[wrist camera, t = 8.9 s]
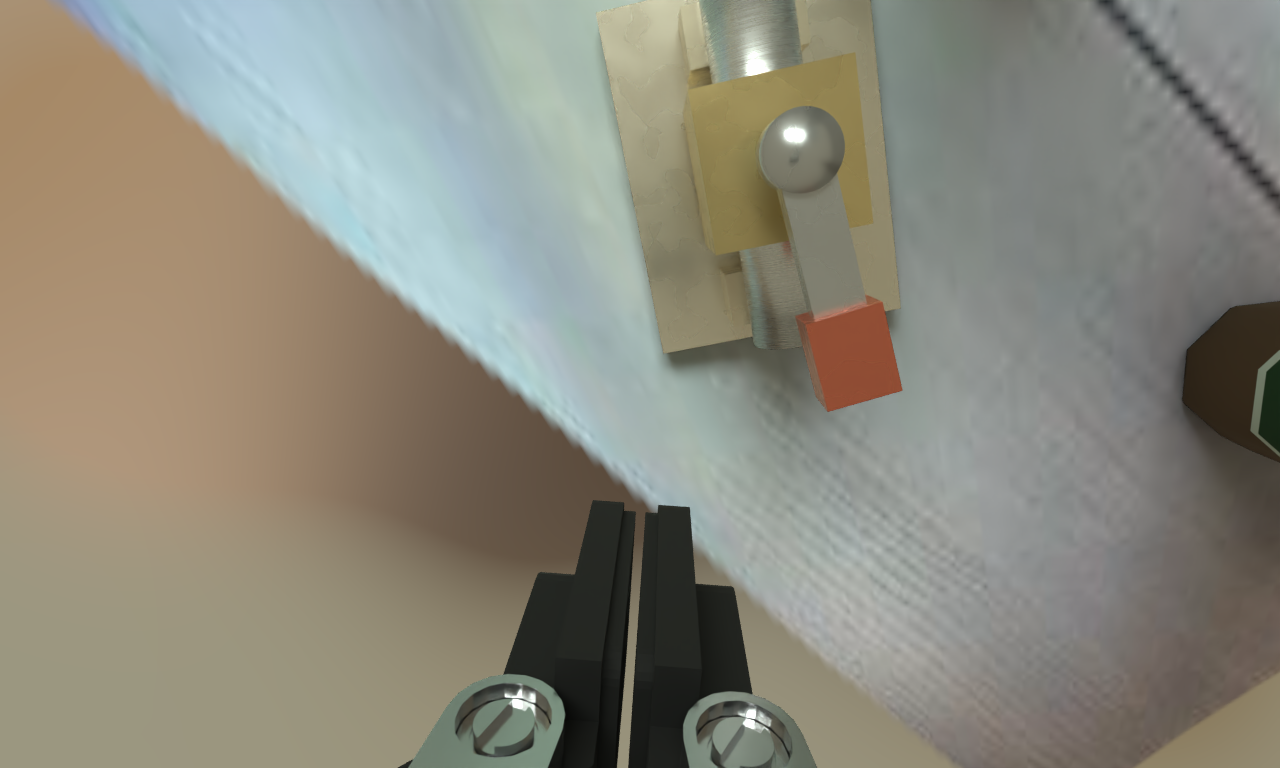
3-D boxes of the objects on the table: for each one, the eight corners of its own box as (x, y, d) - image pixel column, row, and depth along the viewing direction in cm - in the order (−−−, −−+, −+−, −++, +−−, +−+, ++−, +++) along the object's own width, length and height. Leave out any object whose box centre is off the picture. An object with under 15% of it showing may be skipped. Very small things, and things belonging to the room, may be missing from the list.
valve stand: (855, -40, 29) (956, -166, 19) (890, 303, 34) (988, 347, 23) (599, 21, 30) (567, -69, 20) (663, 347, 35) (664, 406, 24)
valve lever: (745, 127, 22) (753, 121, 20) (822, 101, 21) (836, 92, 20) (816, 396, 24) (827, 411, 22) (885, 376, 24) (902, 390, 22)
